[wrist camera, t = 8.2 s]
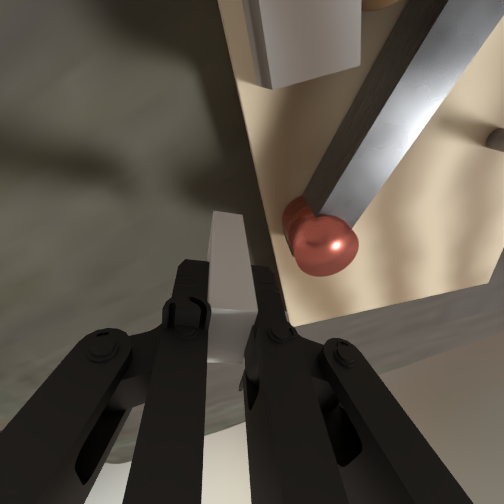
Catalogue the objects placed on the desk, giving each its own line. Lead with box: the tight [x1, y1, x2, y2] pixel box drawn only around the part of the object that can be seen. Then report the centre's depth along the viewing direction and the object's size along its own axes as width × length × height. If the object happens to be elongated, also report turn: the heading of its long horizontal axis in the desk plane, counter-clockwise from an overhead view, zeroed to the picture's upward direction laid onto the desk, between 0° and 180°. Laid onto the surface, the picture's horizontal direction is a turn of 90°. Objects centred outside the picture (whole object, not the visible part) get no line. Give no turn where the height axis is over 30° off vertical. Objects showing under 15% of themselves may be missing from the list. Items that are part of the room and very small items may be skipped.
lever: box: [282, 0, 504, 277], centre depth 13 cm, size 4×18×4 cm, turn 157°
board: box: [217, 0, 504, 327], centre depth 15 cm, size 19×30×7 cm, turn 13°
